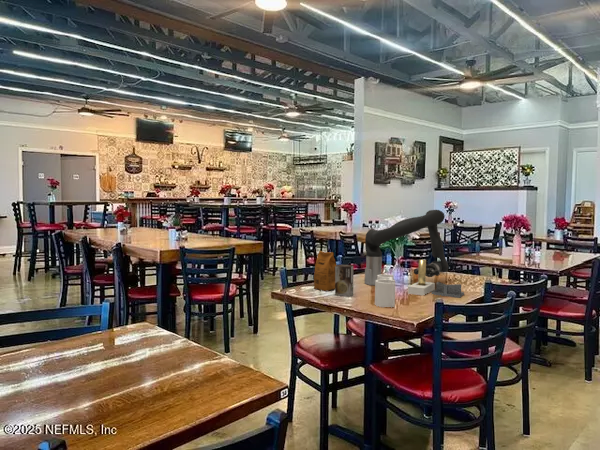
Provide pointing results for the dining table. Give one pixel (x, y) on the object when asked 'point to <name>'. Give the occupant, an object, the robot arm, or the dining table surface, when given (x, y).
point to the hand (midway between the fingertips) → (423, 273)
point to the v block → (448, 290)
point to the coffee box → (344, 280)
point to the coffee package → (325, 271)
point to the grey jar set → (385, 291)
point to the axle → (422, 272)
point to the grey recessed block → (421, 288)
